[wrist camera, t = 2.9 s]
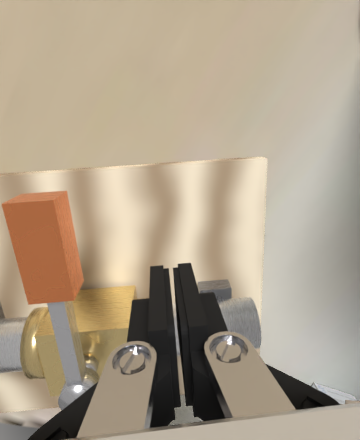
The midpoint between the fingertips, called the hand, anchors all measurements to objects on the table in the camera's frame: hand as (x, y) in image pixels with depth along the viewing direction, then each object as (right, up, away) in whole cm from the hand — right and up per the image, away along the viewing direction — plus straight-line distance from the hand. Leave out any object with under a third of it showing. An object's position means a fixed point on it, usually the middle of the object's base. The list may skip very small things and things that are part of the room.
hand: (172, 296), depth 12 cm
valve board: (-8, -5, +18) cm, 20 cm away
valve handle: (-7, -2, +7) cm, 11 cm away
